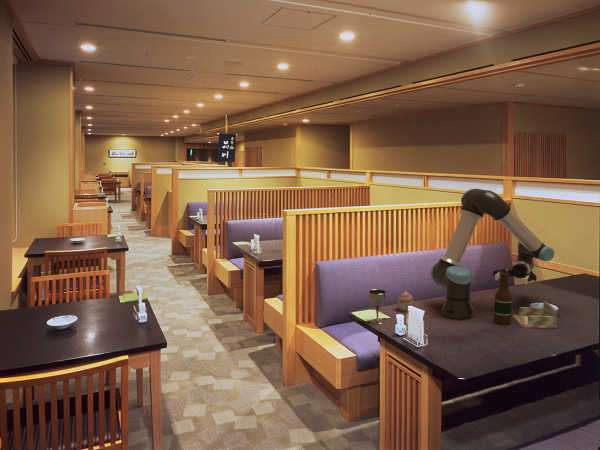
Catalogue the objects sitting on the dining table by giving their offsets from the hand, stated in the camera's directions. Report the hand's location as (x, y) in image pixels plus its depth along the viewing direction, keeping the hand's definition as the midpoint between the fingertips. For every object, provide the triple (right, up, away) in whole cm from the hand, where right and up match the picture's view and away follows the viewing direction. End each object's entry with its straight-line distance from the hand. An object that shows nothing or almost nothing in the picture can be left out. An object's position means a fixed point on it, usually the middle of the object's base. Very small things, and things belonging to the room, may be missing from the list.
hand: (510, 279), depth 230 cm
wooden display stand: (+9, -19, -7) cm, 23 cm away
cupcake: (-48, -18, +15) cm, 53 cm away
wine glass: (-65, -21, 0) cm, 68 cm away
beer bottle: (-6, -20, -5) cm, 21 cm away
